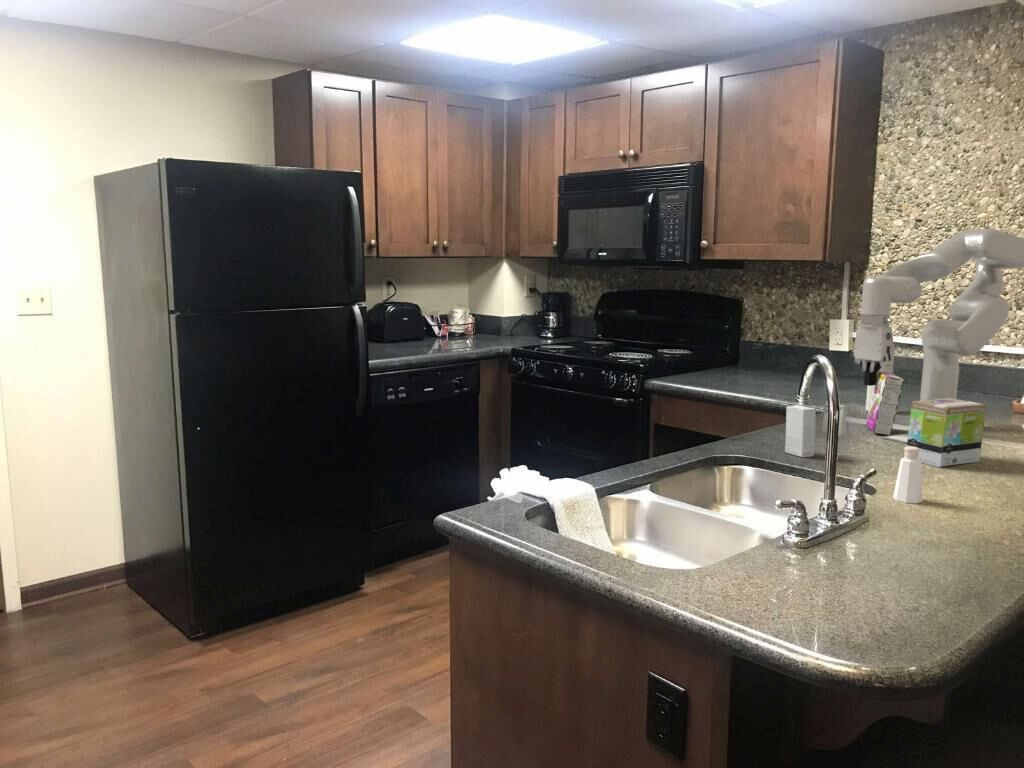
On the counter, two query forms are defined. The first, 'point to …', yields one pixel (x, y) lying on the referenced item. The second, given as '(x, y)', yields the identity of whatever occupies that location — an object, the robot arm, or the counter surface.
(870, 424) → the candy bar box
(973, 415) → the tea box
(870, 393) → the paper towel roll
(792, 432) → the skincare box
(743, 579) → the counter surface
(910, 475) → the pepper shaker
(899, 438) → the mat
